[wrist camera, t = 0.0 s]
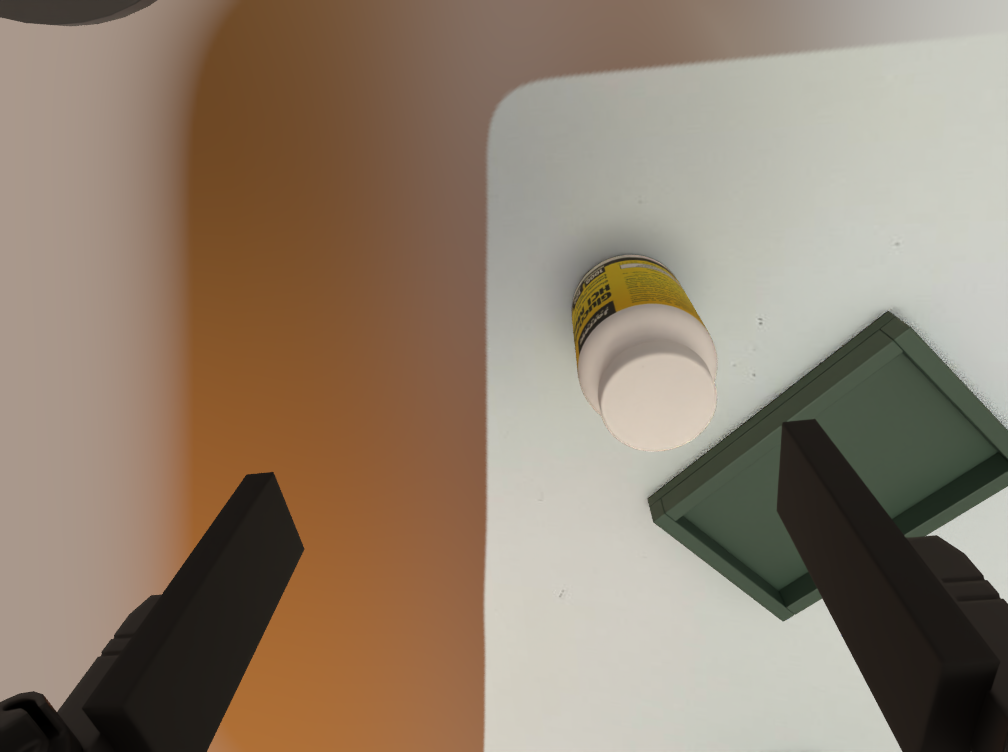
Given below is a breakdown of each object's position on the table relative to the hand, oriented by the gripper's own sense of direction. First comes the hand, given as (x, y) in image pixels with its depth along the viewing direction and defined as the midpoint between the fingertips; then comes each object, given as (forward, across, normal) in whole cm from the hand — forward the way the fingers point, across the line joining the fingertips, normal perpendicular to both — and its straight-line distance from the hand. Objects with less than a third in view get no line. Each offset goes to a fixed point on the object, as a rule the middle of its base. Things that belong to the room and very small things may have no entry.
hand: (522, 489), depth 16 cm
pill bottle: (+20, +5, -3) cm, 21 cm away
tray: (+20, +17, -16) cm, 30 cm away
